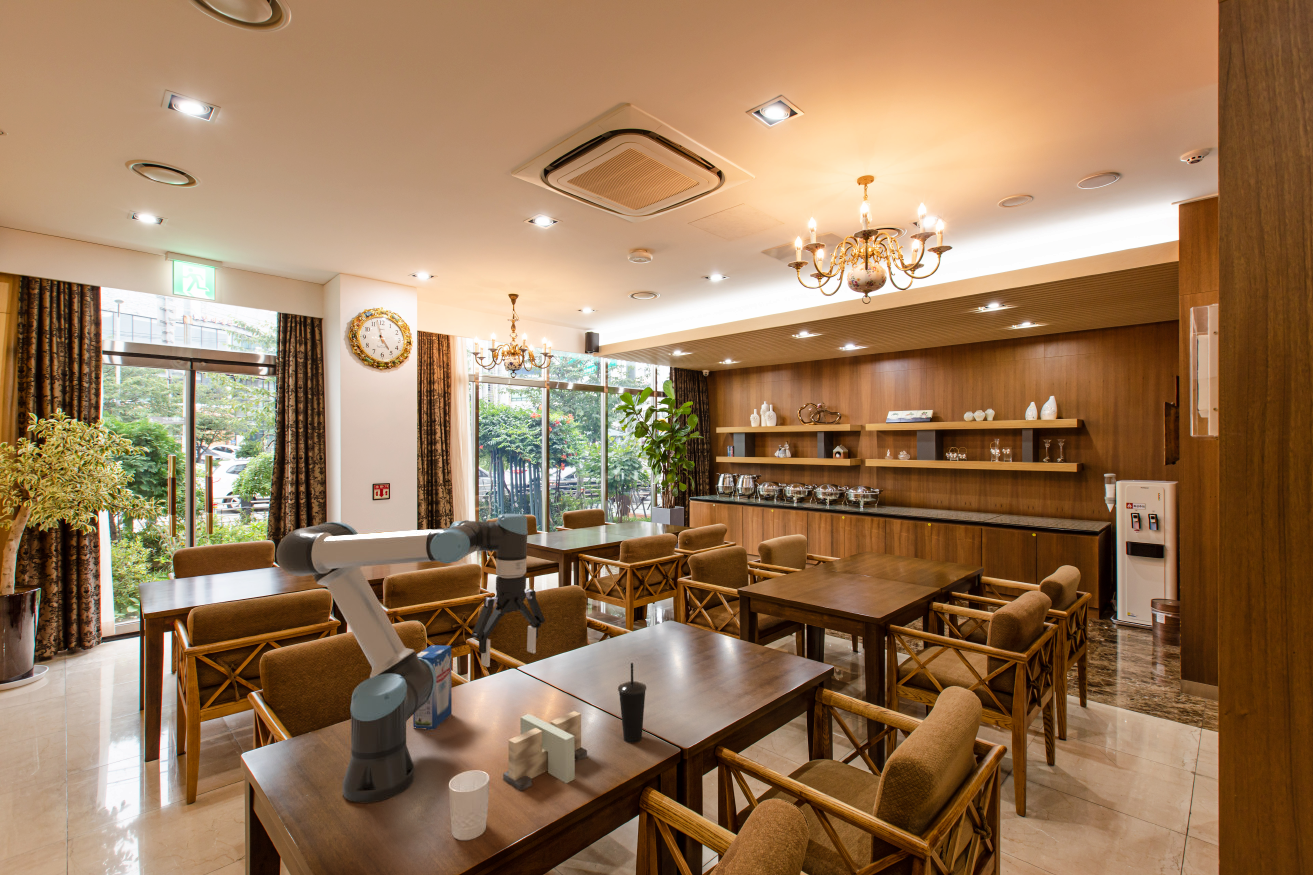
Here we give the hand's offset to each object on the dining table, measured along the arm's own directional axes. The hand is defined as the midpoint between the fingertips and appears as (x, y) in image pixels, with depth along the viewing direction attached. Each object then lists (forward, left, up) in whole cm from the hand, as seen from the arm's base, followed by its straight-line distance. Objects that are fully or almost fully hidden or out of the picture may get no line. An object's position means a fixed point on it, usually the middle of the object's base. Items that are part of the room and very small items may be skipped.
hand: (509, 658), depth 150 cm
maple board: (+3, -12, -24) cm, 27 cm away
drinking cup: (+27, -18, -25) cm, 40 cm away
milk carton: (-3, +33, -25) cm, 42 cm away
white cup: (-22, -19, -25) cm, 38 cm away
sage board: (+3, -12, -25) cm, 27 cm away
